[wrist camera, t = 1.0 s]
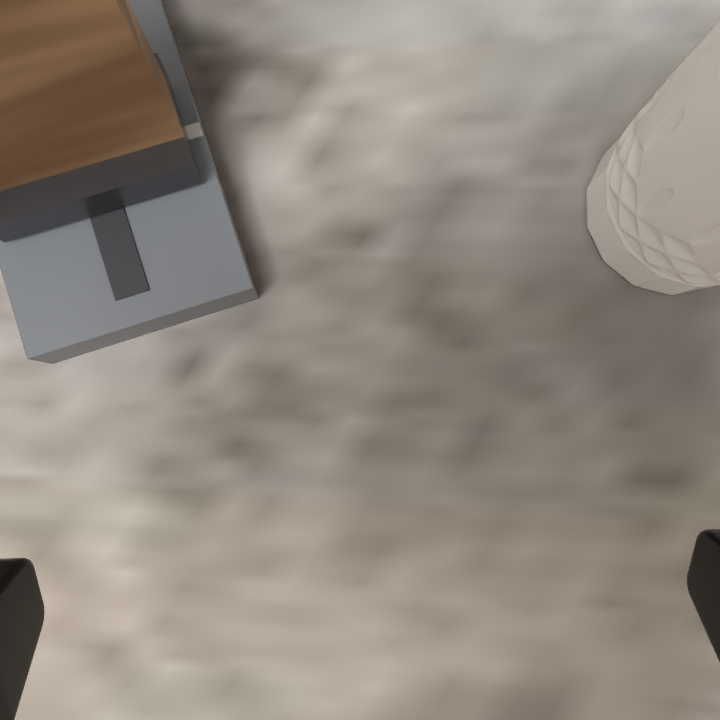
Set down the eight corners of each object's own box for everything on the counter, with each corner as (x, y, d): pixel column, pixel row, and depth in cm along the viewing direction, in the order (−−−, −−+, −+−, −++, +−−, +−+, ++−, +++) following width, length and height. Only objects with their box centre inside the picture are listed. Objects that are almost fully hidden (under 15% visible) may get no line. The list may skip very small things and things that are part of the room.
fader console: (258, 298, 25) (252, 287, 23) (52, 363, 24) (25, 358, 22) (143, -58, 26) (126, -100, 24) (-58, -4, 25) (-94, -42, 23)
